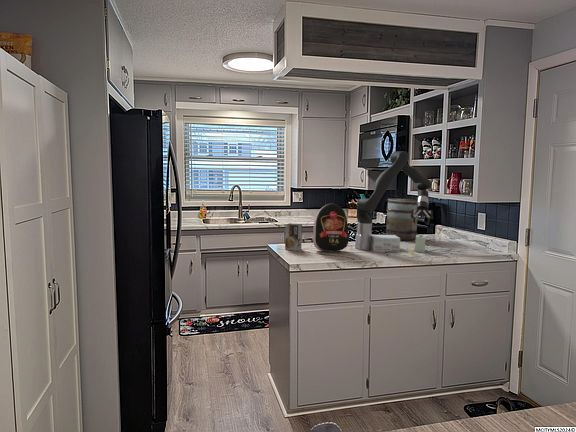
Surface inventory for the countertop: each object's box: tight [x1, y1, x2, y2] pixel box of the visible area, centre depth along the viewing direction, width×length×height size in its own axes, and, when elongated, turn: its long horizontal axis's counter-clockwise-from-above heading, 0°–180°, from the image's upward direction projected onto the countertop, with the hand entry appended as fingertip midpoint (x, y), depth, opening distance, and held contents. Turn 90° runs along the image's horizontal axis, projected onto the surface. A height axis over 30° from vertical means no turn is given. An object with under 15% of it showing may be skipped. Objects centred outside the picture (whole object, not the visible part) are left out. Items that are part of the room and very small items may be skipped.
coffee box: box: [284, 222, 303, 251], centre depth 270 cm, size 9×6×16 cm
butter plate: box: [396, 247, 426, 259], centre depth 265 cm, size 12×12×4 cm
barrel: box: [385, 198, 418, 242], centre depth 327 cm, size 22×22×30 cm
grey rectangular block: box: [414, 234, 427, 254], centre depth 277 cm, size 9×6×10 cm, turn 162°
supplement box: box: [370, 234, 401, 253], centre depth 280 cm, size 17×13×9 cm
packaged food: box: [312, 202, 350, 252], centre depth 268 cm, size 22×20×30 cm
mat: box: [406, 248, 432, 254], centre depth 278 cm, size 12×12×1 cm
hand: (421, 223), depth 286 cm, fingers open, 8 cm apart
